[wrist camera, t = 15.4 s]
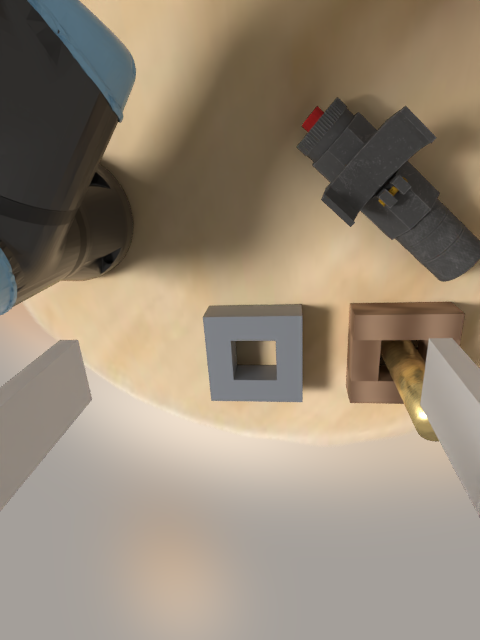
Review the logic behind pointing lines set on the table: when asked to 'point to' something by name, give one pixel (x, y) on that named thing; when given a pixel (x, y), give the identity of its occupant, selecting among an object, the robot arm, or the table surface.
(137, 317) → the table surface
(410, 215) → the laser sight
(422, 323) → the dock block
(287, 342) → the mount block
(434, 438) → the brass pin
